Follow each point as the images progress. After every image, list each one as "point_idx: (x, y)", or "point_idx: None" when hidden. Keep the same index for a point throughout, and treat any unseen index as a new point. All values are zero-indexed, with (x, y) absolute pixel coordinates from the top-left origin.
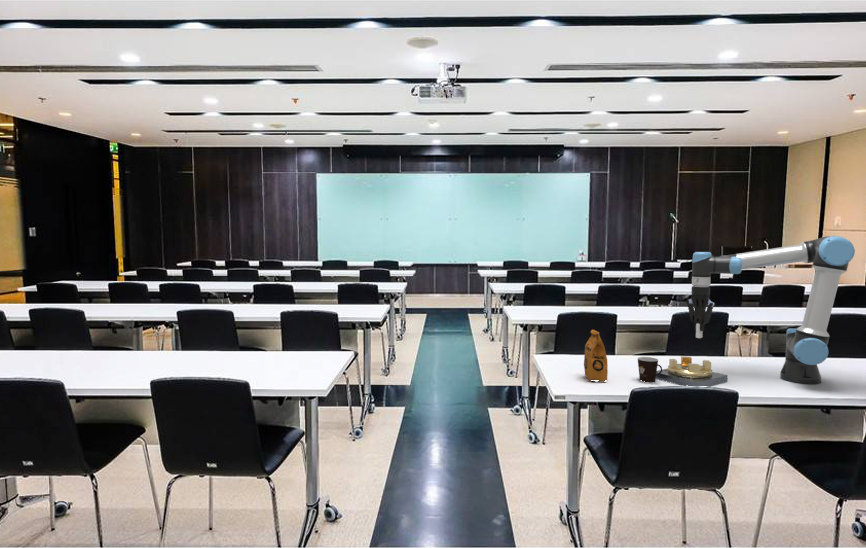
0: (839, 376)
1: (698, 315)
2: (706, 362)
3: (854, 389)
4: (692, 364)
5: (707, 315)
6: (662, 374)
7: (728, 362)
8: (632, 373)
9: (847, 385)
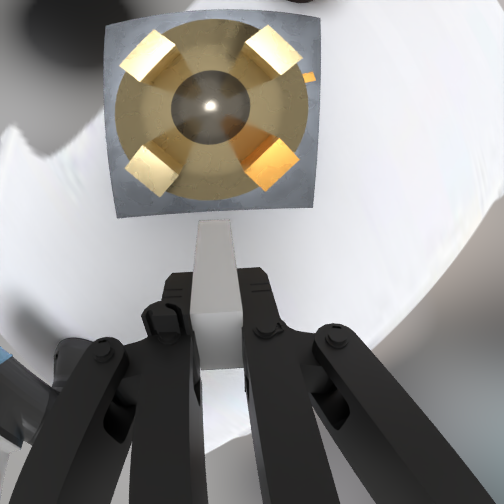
0: None
1: (257, 451)
2: (138, 150)
3: (27, 359)
4: (147, 45)
5: (40, 442)
6: (273, 12)
7: None
8: (388, 41)
9: (48, 374)
